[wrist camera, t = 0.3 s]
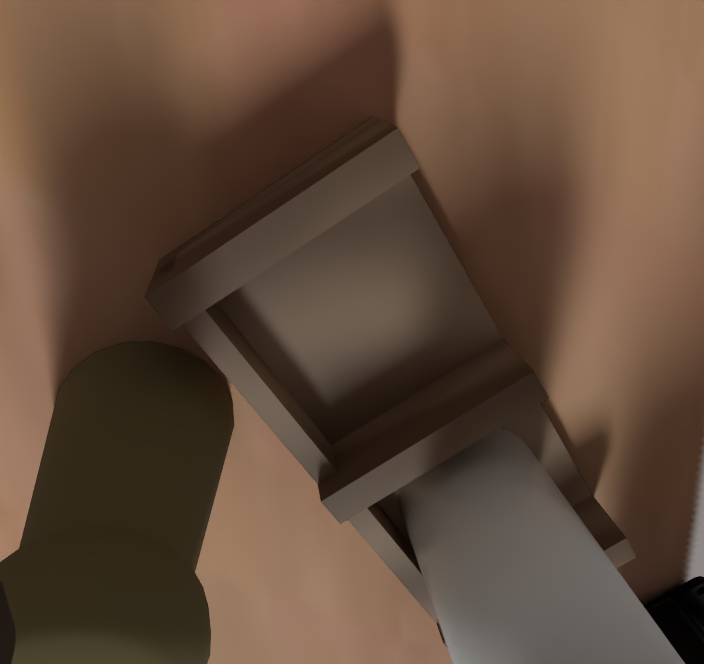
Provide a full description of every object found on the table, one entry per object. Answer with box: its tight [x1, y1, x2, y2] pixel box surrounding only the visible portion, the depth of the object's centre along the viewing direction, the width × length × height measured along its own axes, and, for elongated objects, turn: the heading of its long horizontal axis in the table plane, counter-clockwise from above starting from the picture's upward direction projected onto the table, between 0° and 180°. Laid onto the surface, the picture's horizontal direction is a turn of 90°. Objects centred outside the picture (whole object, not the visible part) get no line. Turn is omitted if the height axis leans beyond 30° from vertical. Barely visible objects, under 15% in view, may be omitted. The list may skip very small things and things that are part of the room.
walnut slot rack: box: [145, 116, 637, 647], centre depth 22 cm, size 19×8×3 cm, turn 32°
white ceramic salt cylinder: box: [398, 428, 685, 664], centre depth 19 cm, size 6×6×11 cm
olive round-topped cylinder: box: [0, 342, 234, 664], centre depth 17 cm, size 6×6×11 cm
